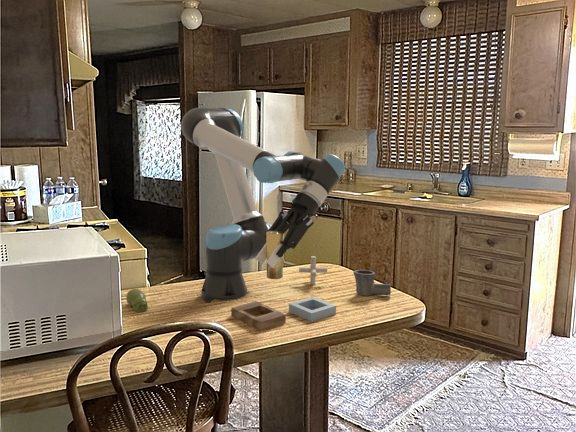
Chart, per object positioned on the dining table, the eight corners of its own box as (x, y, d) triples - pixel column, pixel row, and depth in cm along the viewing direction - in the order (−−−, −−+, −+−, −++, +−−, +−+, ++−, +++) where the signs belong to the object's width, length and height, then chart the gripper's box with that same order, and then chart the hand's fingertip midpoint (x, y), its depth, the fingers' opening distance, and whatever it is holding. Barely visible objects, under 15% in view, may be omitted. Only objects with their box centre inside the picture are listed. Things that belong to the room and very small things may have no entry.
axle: (263, 277, 154) (263, 233, 152) (271, 273, 158) (271, 230, 156) (278, 279, 152) (277, 234, 150) (285, 275, 156) (285, 231, 154)
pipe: (390, 299, 179) (391, 276, 177) (351, 296, 181) (352, 273, 180) (390, 293, 185) (391, 270, 183) (353, 290, 187) (353, 268, 185)
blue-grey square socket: (288, 316, 162) (288, 303, 162) (313, 308, 169) (313, 296, 168) (311, 326, 155) (311, 313, 154) (335, 318, 161) (336, 305, 160)
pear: (141, 285, 172) (152, 299, 164) (140, 299, 174) (151, 314, 166) (123, 287, 169) (133, 302, 161) (123, 302, 171) (133, 317, 163)
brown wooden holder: (231, 320, 158) (231, 307, 158) (255, 313, 164) (255, 301, 163) (260, 335, 148) (260, 322, 147) (285, 327, 154) (285, 314, 153)
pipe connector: (327, 288, 188) (328, 260, 187) (298, 288, 189) (299, 260, 187) (325, 279, 198) (326, 253, 196) (298, 279, 198) (299, 252, 197)
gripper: (283, 188, 164) (238, 249, 157) (322, 194, 150) (275, 261, 143) (297, 204, 168) (254, 264, 161) (336, 211, 154) (290, 277, 147)
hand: (264, 262), depth 152 cm, fingers closed on axle, 5 cm apart
